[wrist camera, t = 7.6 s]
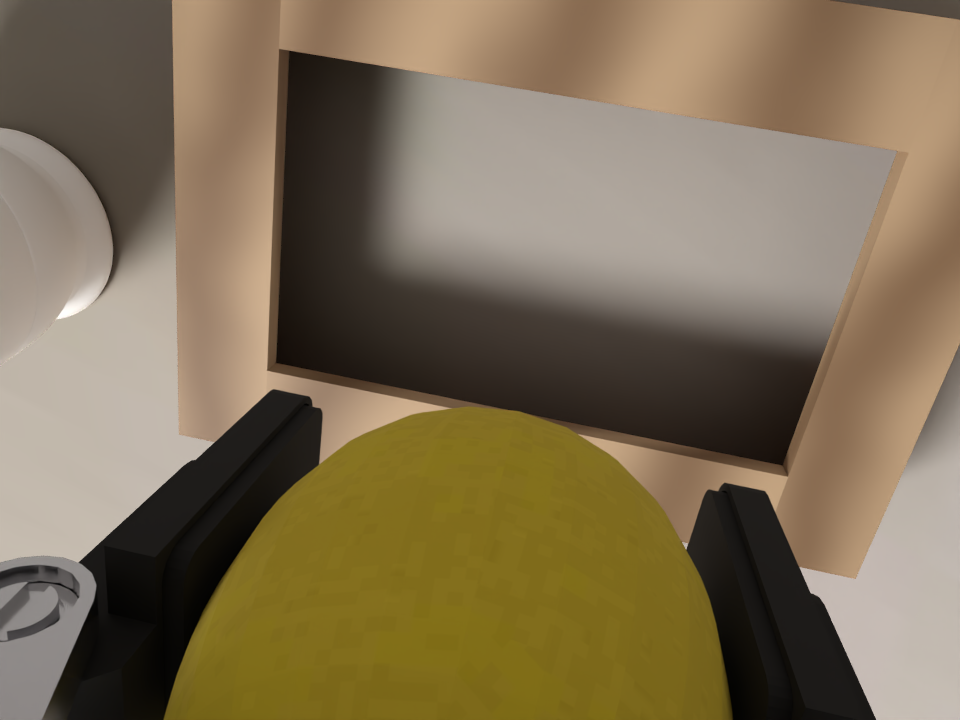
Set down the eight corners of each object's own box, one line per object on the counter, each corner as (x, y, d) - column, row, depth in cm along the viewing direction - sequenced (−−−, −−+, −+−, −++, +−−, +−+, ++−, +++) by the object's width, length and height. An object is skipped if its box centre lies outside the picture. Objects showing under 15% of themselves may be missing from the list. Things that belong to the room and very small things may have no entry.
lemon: (381, 275, 10) (-141, 727, 3) (741, 395, 10) (1125, 1192, 3) (310, 563, 12) (-99, 1245, 5) (607, 666, 12) (628, 1529, 5)
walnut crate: (992, 49, 23) (1094, 39, 19) (813, 500, 30) (855, 578, 25) (249, -64, 26) (170, -99, 21) (240, 382, 32) (178, 434, 28)
